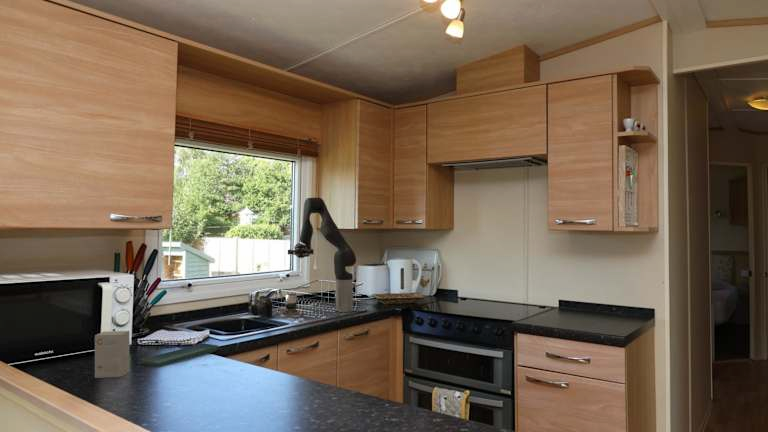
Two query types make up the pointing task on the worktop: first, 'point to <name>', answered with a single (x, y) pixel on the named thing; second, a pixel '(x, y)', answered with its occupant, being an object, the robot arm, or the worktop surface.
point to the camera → (262, 307)
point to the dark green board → (180, 355)
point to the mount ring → (290, 313)
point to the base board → (291, 316)
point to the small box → (112, 354)
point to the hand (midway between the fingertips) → (300, 252)
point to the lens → (291, 303)
